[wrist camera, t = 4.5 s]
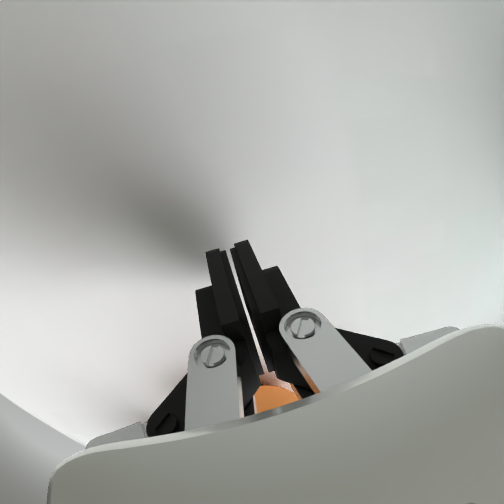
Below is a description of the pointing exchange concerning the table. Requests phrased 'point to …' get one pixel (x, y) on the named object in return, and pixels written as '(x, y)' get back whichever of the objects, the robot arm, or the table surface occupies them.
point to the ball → (273, 397)
